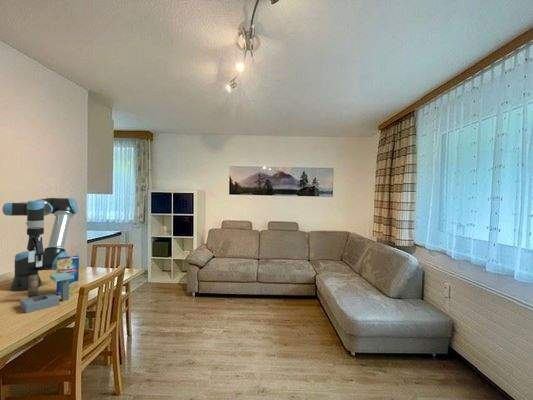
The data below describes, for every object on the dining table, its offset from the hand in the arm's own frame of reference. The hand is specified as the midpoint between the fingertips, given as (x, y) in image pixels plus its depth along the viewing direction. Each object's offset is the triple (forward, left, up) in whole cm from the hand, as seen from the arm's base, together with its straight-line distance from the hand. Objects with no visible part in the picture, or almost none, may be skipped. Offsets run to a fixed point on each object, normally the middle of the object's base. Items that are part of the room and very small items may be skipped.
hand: (35, 264), depth 158 cm
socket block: (+13, -1, -21) cm, 24 cm away
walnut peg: (0, -1, -21) cm, 21 cm away
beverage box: (+1, +16, -21) cm, 26 cm away
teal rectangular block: (+13, +9, -21) cm, 26 cm away
